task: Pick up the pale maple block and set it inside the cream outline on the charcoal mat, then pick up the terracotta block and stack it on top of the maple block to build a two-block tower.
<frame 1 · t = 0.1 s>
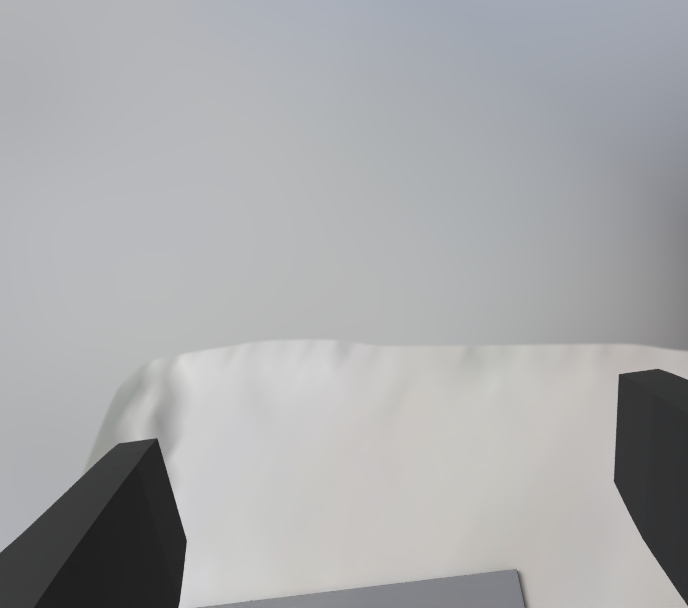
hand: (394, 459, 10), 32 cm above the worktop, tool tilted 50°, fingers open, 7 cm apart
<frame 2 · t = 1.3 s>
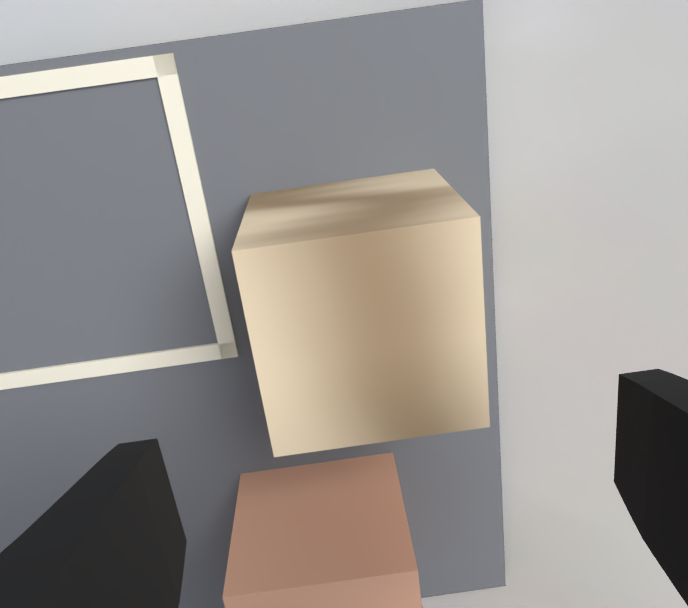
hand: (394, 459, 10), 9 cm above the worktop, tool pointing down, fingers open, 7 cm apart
maple block: (353, 267, 18), resting on build mat
terracotta block: (327, 523, 22), resting on build mat
build mat: (190, 385, 20), on the worktop
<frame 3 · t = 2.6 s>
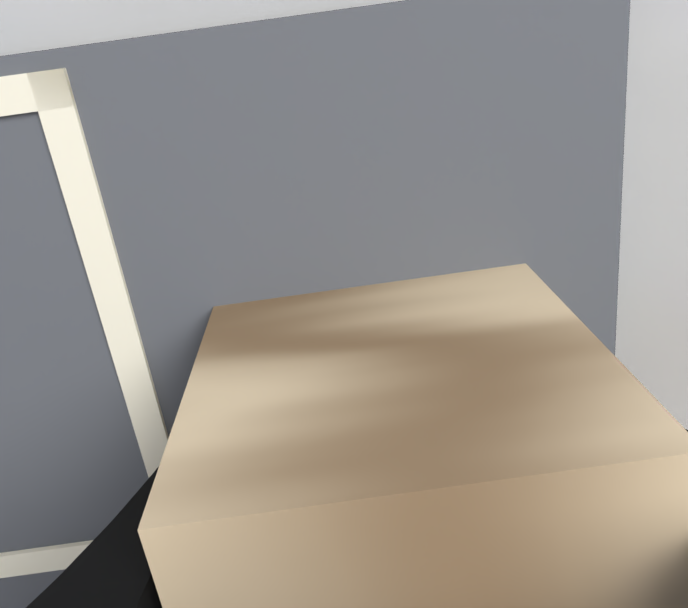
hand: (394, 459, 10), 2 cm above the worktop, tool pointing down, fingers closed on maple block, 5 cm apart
maple block: (385, 417, 11), resting on build mat, touching gripper
build mat: (125, 582, 13), on the worktop
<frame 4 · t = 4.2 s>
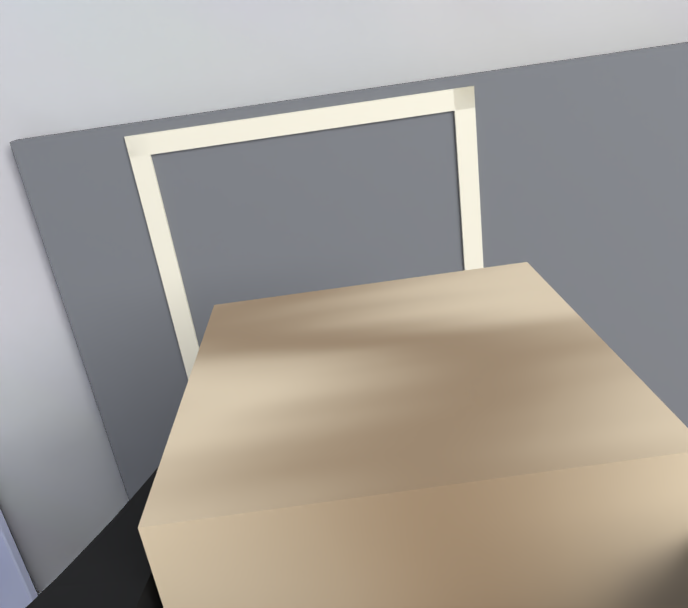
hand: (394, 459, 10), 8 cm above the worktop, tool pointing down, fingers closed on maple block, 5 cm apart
maple block: (386, 416, 11), point 7 cm above the worktop, touching gripper
build mat: (430, 418, 20), on the worktop
when the fingers open (3 cm above the worktop, at t = 5.9 s): maple block drops 1 cm, resting on build mat.
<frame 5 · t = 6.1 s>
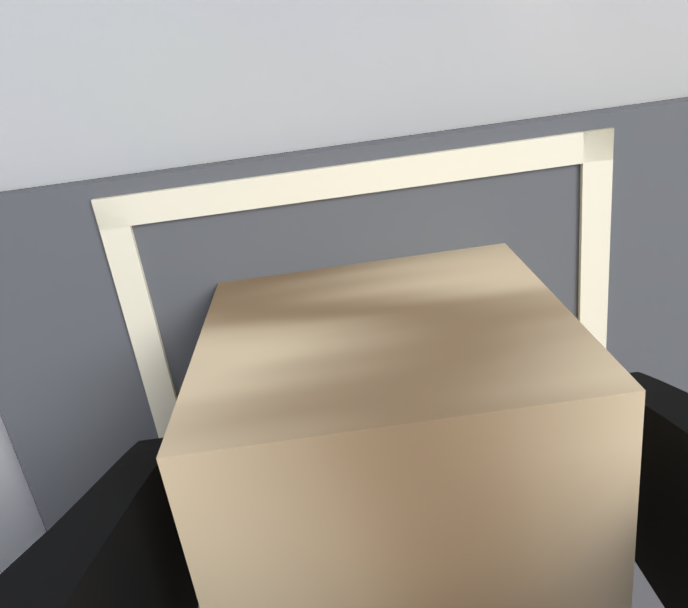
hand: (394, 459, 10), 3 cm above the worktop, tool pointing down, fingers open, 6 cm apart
maple block: (377, 387, 12), resting on build mat
build mat: (511, 565, 15), on the worktop
when the fingers open (8 cm above the worktop, at t = 12.5 s): terracotta block stays where it is, resting on maple block.
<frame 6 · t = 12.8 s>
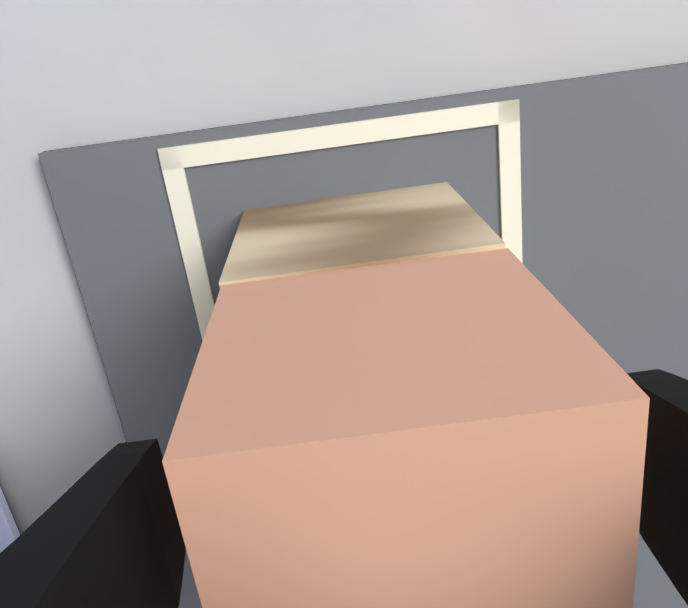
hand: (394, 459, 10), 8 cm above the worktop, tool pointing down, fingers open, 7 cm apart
maple block: (357, 290, 17), resting on build mat, touching terracotta block
terracotta block: (378, 390, 12), point 5 cm above the worktop, touching maple block
build mat: (462, 437, 19), on the worktop
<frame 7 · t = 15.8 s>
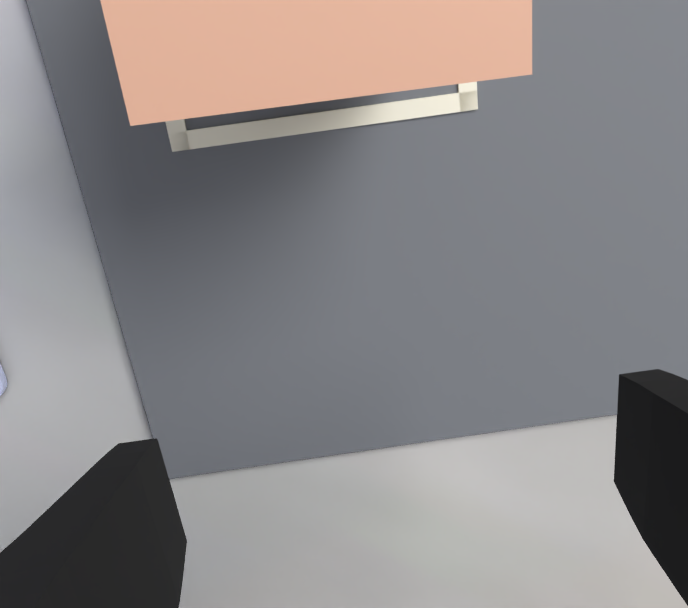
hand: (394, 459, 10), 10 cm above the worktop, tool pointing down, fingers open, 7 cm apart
build mat: (415, 151, 19), on the worktop
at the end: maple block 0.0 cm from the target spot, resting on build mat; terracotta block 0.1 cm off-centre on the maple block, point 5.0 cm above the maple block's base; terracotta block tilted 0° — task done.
